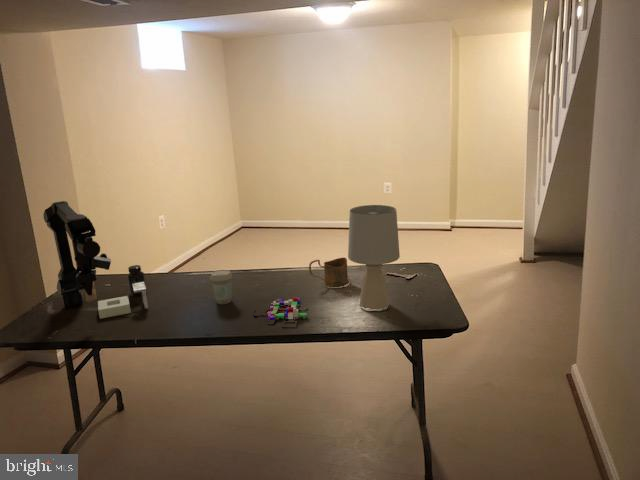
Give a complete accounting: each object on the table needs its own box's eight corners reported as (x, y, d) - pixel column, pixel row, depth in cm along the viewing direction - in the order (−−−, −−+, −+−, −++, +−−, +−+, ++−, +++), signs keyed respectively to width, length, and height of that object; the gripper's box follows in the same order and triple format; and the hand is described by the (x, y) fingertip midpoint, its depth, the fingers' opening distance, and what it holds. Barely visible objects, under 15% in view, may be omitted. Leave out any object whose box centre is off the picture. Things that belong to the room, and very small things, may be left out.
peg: (86, 301, 182) (82, 280, 180) (86, 298, 185) (82, 277, 183) (96, 300, 183) (93, 279, 181) (96, 296, 187) (93, 276, 185)
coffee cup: (208, 303, 200) (205, 275, 197) (222, 296, 208) (219, 268, 204) (225, 307, 196) (222, 277, 193) (239, 299, 204) (236, 270, 200)
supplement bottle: (149, 290, 218) (145, 264, 214) (142, 296, 211) (138, 269, 208) (134, 290, 218) (130, 264, 215) (127, 296, 212) (122, 269, 209)
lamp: (398, 317, 180) (398, 215, 170) (346, 315, 184) (342, 215, 174) (401, 297, 197) (400, 204, 187) (353, 296, 201) (350, 204, 191)
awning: (137, 311, 197) (133, 290, 194) (135, 303, 205) (132, 283, 202) (148, 308, 198) (145, 288, 196) (146, 301, 206) (143, 281, 204)
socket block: (99, 318, 191) (98, 310, 190) (99, 309, 200) (97, 301, 199) (130, 312, 195) (129, 304, 194) (129, 303, 204) (127, 295, 203)
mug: (305, 285, 216) (303, 257, 213) (342, 277, 223) (341, 251, 220) (316, 293, 206) (315, 265, 202) (354, 285, 213) (354, 258, 209)
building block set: (259, 301, 202) (258, 291, 200) (311, 301, 200) (310, 290, 199) (246, 329, 178) (245, 317, 176) (304, 329, 176) (304, 317, 175)
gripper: (108, 255, 174) (115, 297, 179) (106, 242, 191) (113, 281, 195) (72, 260, 170) (80, 304, 174) (74, 247, 187) (81, 287, 191)
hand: (90, 293), depth 184 cm, fingers closed on peg, 4 cm apart
